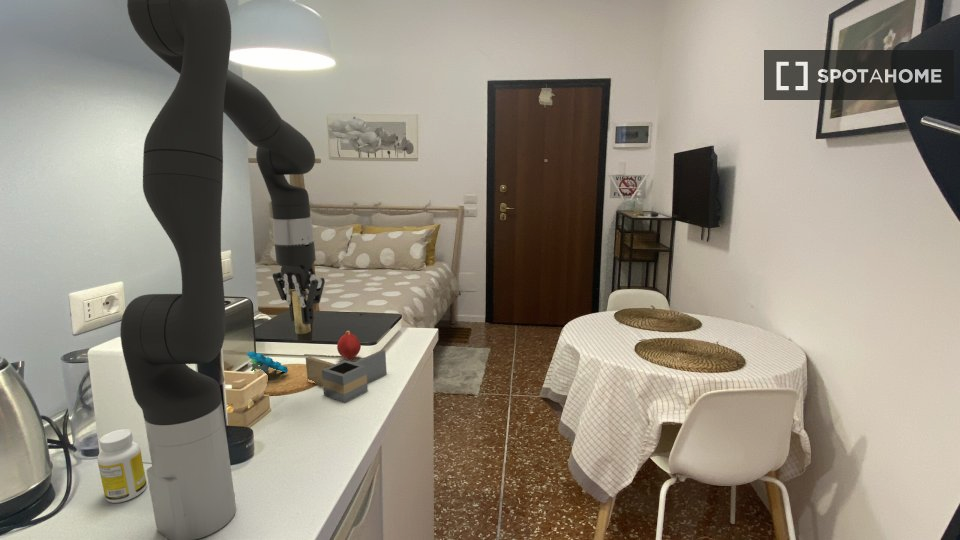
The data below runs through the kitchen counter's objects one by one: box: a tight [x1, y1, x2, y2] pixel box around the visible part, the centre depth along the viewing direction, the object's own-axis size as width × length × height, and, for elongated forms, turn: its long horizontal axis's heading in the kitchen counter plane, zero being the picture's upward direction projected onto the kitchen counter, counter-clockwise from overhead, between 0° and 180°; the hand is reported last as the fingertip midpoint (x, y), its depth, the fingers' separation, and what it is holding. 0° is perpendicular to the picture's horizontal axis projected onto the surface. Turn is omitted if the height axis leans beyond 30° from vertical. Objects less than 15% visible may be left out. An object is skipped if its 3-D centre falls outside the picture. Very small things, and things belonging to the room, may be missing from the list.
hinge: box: [305, 349, 387, 404], centre depth 117 cm, size 16×16×6 cm
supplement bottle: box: [97, 428, 148, 504], centre depth 78 cm, size 5×5×10 cm
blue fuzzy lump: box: [246, 351, 289, 374], centre depth 119 cm, size 11×6×10 cm
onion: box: [336, 330, 362, 361], centre depth 129 cm, size 6×6×8 cm
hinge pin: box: [291, 289, 312, 335], centre depth 105 cm, size 3×3×9 cm
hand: (302, 321), depth 105 cm, fingers closed on hinge pin, 3 cm apart
